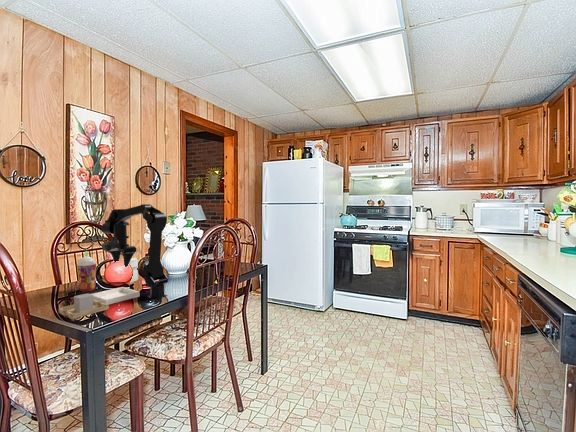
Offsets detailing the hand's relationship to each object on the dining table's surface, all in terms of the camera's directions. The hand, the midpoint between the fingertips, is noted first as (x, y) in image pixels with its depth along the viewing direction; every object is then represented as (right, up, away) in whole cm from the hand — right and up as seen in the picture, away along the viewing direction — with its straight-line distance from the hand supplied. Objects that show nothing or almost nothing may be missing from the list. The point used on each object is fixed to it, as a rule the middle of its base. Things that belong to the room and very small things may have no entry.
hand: (121, 265), depth 158 cm
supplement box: (-6, -12, +20) cm, 24 cm away
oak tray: (0, -14, -28) cm, 32 cm away
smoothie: (-18, -13, +2) cm, 23 cm away
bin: (+3, -14, -11) cm, 18 cm away
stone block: (0, -14, -28) cm, 31 cm away
